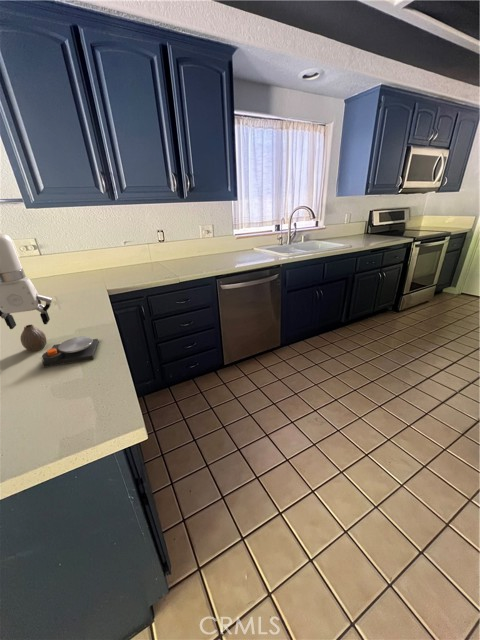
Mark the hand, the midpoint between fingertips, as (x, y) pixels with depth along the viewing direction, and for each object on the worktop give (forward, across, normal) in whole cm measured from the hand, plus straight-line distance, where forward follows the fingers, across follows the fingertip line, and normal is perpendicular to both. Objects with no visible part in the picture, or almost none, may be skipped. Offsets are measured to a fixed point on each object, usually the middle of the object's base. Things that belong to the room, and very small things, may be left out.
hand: (30, 325), depth 89 cm
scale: (+9, +12, -8) cm, 17 cm away
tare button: (+6, +8, -12) cm, 16 cm away
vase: (+9, -1, 0) cm, 9 cm away
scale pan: (+6, +14, -8) cm, 17 cm away
